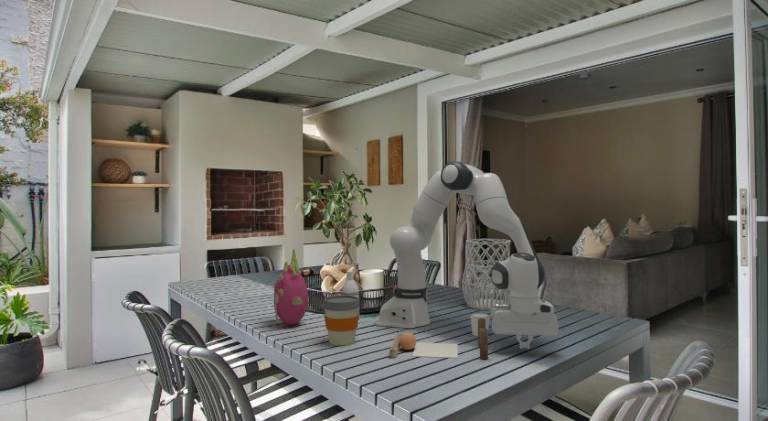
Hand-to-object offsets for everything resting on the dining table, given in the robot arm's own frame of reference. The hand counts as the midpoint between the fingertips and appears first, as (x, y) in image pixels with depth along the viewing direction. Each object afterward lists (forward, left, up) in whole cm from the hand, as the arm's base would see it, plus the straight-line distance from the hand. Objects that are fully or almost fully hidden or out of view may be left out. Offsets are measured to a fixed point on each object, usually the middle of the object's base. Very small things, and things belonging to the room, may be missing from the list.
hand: (524, 348), depth 150 cm
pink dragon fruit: (-87, +26, -2) cm, 91 cm away
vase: (-7, +68, -2) cm, 68 cm away
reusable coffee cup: (-61, +6, -2) cm, 61 cm away
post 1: (-13, +6, -2) cm, 14 cm away
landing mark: (-28, 0, -2) cm, 28 cm away
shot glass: (-13, +20, -2) cm, 24 cm away
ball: (-37, 0, +1) cm, 37 cm away
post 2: (-13, -6, -2) cm, 14 cm away
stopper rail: (-41, 0, -2) cm, 41 cm away
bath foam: (-65, +37, -2) cm, 75 cm away
